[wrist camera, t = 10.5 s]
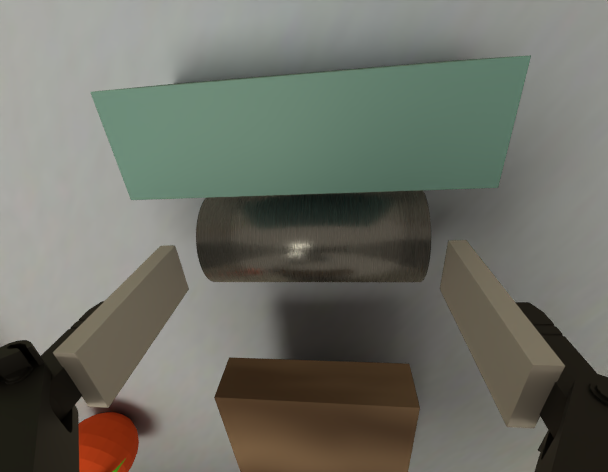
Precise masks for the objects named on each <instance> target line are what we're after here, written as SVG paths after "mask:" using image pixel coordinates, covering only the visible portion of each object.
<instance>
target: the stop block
mask: <svg viewBox="0 0 608 472" xmlns="http://www.w3.org/2000/svg"><path fill="white" fill-rule="evenodd" d="M530 58H531V56H516V57H500V58H485V59H469V60H455V61H443V62H431V63H419V64H407V65H395V66H383V67H371V68H359V69H347V70H335V71H323V72H311V73H299V74H287V75H275V76H263V77H251V78H239V79H227V80H215V81H203V82H191V83H179V84H168V85H157V86H147V87H137V88H126V89H116V90H106V91H95V92H91V95H92V98H93V100H94V103H95V106H96V108H97V111H98V114H99V116H100V119H101V122H102V124H103V127H104V129H105V132H106V135H107V137H108V140H109V143H110V145H111V148H112V151H113V153H114V156H115V159H116V161H117V164H118V167H119V169H120V172H121V175H122V177H123V180H124V183H125V185H126V188H127V191H128V193H129V196H130V199H131V200H148V199H178V198H208V197H238V196H267V195H297V194H327V193H356V192H386V191H416V190H446V189H475V188H498V186H499V182H500V178H501V174H502V170H503V166H504V162H505V158H506V154H507V150H508V146H509V142H510V138H511V134H512V130H513V126H514V122H515V118H516V114H517V110H518V106H519V102H520V98H521V94H522V90H523V86H524V82H525V78H526V74H527V70H528V66H529V62H530Z"/></svg>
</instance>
